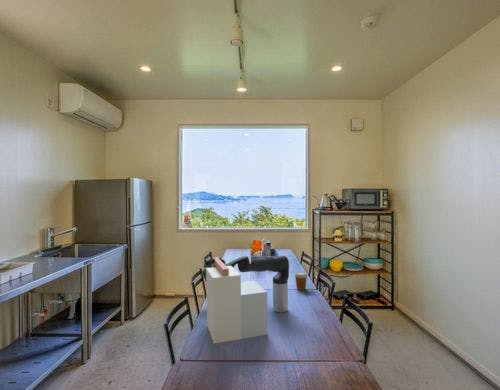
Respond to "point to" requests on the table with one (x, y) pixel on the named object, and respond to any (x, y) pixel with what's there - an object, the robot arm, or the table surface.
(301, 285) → the disposable coffee cup
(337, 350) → the table surface
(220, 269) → the rod
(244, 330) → the riser
